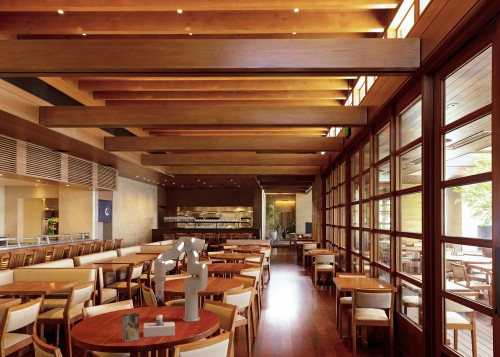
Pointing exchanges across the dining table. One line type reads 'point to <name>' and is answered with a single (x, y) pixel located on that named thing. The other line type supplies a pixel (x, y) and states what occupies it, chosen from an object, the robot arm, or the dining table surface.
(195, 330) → the dining table surface
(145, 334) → the socket block
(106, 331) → the dining table surface
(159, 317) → the marker peg
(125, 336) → the coffee box
